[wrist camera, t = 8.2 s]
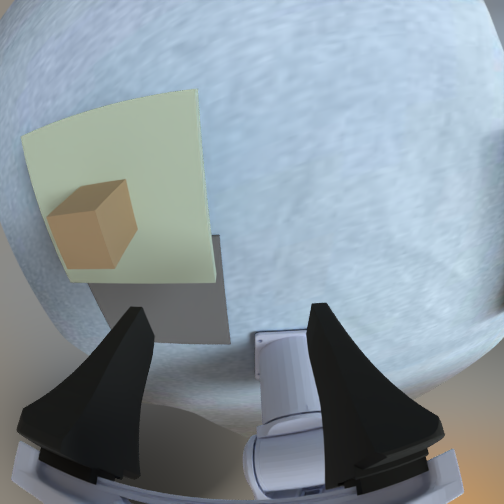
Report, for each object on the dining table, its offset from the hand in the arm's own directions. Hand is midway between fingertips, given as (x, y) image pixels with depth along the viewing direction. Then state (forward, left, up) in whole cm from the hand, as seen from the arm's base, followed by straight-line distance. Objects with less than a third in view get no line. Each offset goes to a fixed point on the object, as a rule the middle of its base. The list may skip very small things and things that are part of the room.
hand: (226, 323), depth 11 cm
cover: (+3, +7, -6) cm, 9 cm away
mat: (-8, +8, -9) cm, 14 cm away
